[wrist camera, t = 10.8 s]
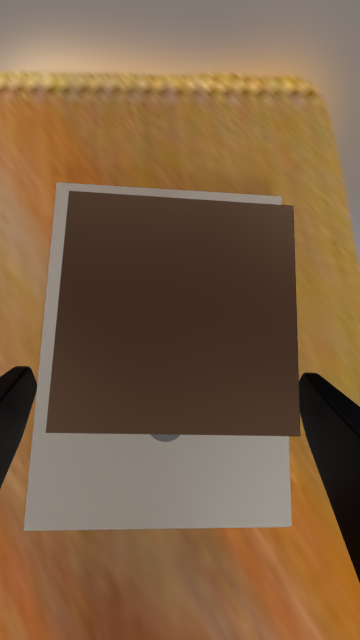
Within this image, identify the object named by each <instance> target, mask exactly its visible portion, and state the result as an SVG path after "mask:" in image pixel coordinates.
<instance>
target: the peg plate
mask: <svg viewBox="0 0 360 640" xmlns="http://www.w3.org/2000/svg"><path fill="white" fill-rule="evenodd" d="M69 191H81V192H96V193H111V194H126V195H141V196H156V197H171V198H185V199H200V200H215V201H230V202H245V203H260V204H275V205H282V199H281V196H267V195H251V194H235V193H219V192H203V191H187V190H171V189H155V188H139V187H123V186H107V185H91V184H75V183H59V182H57V186H56V197H55V207H54V218H53V228H52V238H51V249H50V259H49V270H48V280H47V290H46V301H45V311H44V322H43V332H42V342H41V353H40V363H39V374H38V384H37V394H36V405H35V415H34V426H33V436H32V447H31V457H30V467H29V478H28V488H27V499H26V509H25V519H24V530H23V531H50V530H116V529H182V528H249V527H292V522H291V489H290V457H289V436H237V435H163V434H89V433H46V424H47V413H48V403H49V393H50V382H51V372H52V362H53V351H54V341H55V330H56V320H57V310H58V299H59V289H60V278H61V268H62V258H63V247H64V237H65V227H66V216H67V206H68V195H69Z"/></svg>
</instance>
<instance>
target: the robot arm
mask: <svg viewBox="0 0 360 640" xmlns="http://www.w3.org/2000/svg"><path fill="white" fill-rule="evenodd" d="M36 391H37V382H36V380H35V377H34V375H33V372H32V370H31V368H30V367H28V366H16V367H14V368H12V369H11V370H9V371H8V372H7V373H5V374H4V375H2V376H1V377H0V488H1V486H2V483H3V481H4V479H5V476H6V474H7V472H8V469H9V467H10V464H11V462H12V460H13V457H14V455H15V453H16V450H17V448H18V446H19V443H20V441H21V438H22V436H23V433H24V430H25V427H26V424H27V420H28V417H29V414H30V410H31V407H32V404H33V401H34V397H35V394H36ZM299 407H300V414H301V418H302V422H303V426H304V430H305V434H306V437H307V440H308V443H309V446H310V449H311V452H312V454H313V457H314V460H315V462H316V465H317V468H318V471H319V473H320V476H321V479H322V481H323V484H324V487H325V490H326V492H327V495H328V498H329V501H330V503H331V506H332V509H333V511H334V514H335V517H336V520H337V522H338V525H339V528H340V531H341V533H342V536H343V539H344V541H345V544H346V547H347V550H348V552H349V555H350V558H351V561H352V563H353V566H354V569H355V571H356V574H357V577H358V580H359V582H360V407H359V406H358V405H357V404H355V403H354V402H353V401H352V400H350V399H349V398H348V397H347V396H345V395H344V394H343V393H342V392H340V391H339V390H338V389H336V388H335V387H334V386H333V385H331V384H330V383H329V382H328V381H326V380H325V379H324V378H323V377H321V376H320V375H319V374H317V373H304V374H303V375H302V376H301V378H300V381H299Z"/></svg>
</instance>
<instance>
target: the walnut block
mask: <svg viewBox="0 0 360 640" xmlns="http://www.w3.org/2000/svg"><path fill="white" fill-rule="evenodd" d="M46 433H89V434H163V435H237V436H300V407H299V374H298V341H297V308H296V275H295V243H294V210H293V206H290V205H275V204H260V203H245V202H230V201H215V200H200V199H185V198H171V197H156V196H141V195H126V194H111V193H96V192H81V191H69V195H68V206H67V216H66V227H65V237H64V247H63V258H62V268H61V278H60V289H59V299H58V310H57V320H56V330H55V341H54V351H53V362H52V372H51V382H50V393H49V403H48V413H47V424H46Z"/></svg>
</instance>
